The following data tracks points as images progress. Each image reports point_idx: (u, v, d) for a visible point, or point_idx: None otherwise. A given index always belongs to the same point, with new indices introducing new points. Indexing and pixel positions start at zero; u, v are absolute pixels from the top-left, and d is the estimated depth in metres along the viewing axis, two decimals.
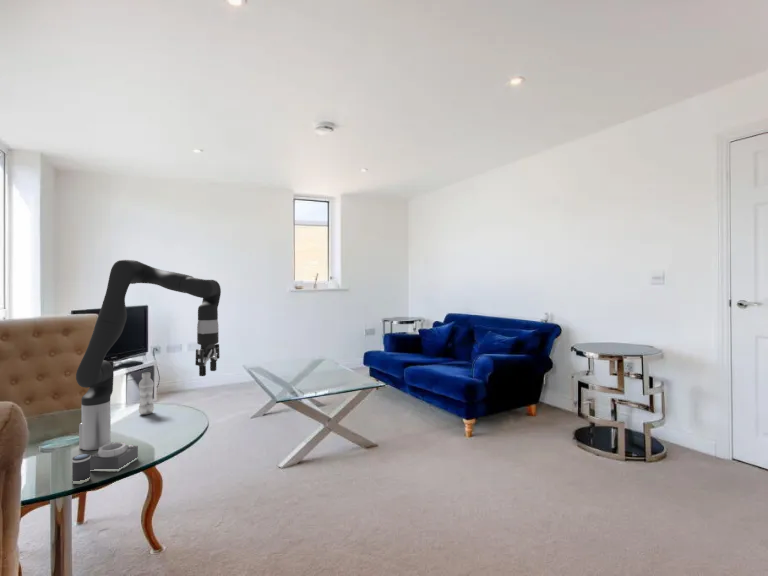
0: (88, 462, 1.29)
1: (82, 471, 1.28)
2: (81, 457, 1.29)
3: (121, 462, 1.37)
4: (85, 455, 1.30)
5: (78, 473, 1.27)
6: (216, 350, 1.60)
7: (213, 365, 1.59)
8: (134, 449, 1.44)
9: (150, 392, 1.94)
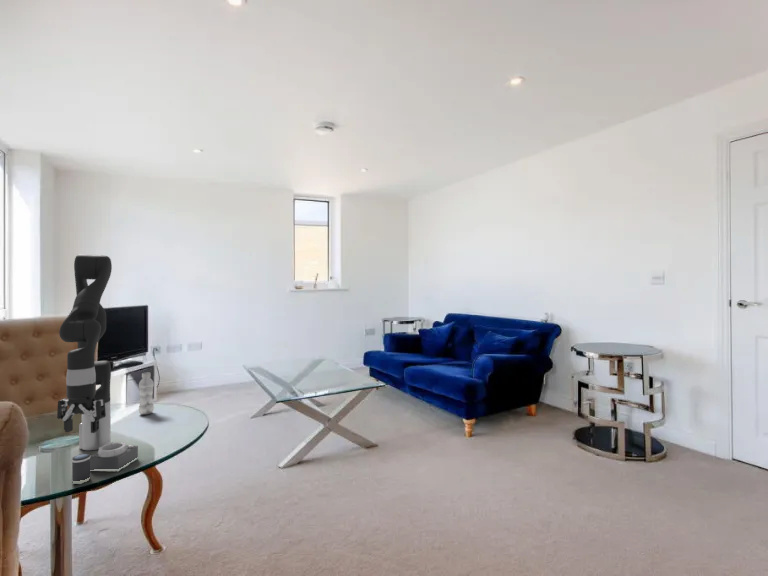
0: (88, 462, 1.29)
1: (82, 471, 1.28)
2: (81, 457, 1.29)
3: (121, 462, 1.37)
4: (85, 455, 1.30)
5: (78, 473, 1.27)
6: (65, 406, 1.30)
7: (70, 424, 1.30)
8: (134, 449, 1.44)
9: (150, 392, 1.94)
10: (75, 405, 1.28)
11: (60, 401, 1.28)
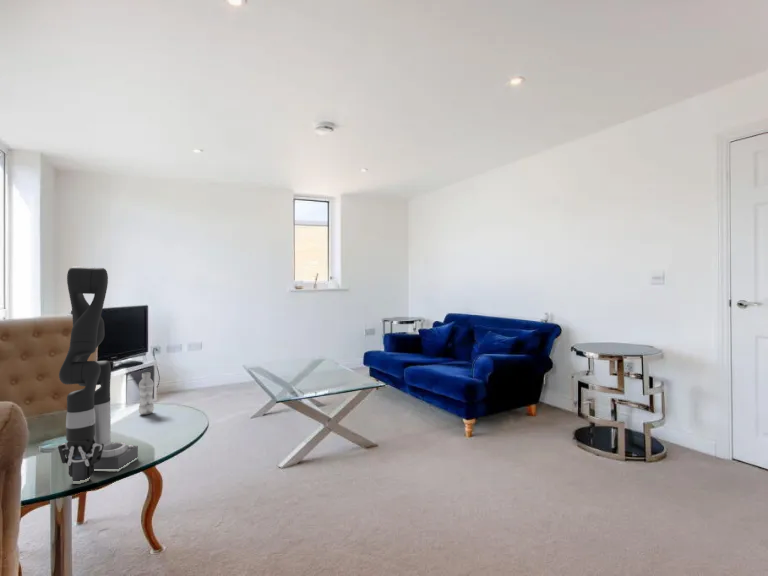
0: None
1: (82, 471, 1.28)
2: (81, 457, 1.29)
3: (121, 462, 1.37)
4: None
5: (78, 473, 1.27)
6: (67, 450, 1.30)
7: None
8: (134, 449, 1.44)
9: (150, 392, 1.94)
10: (74, 446, 1.28)
11: (60, 446, 1.28)
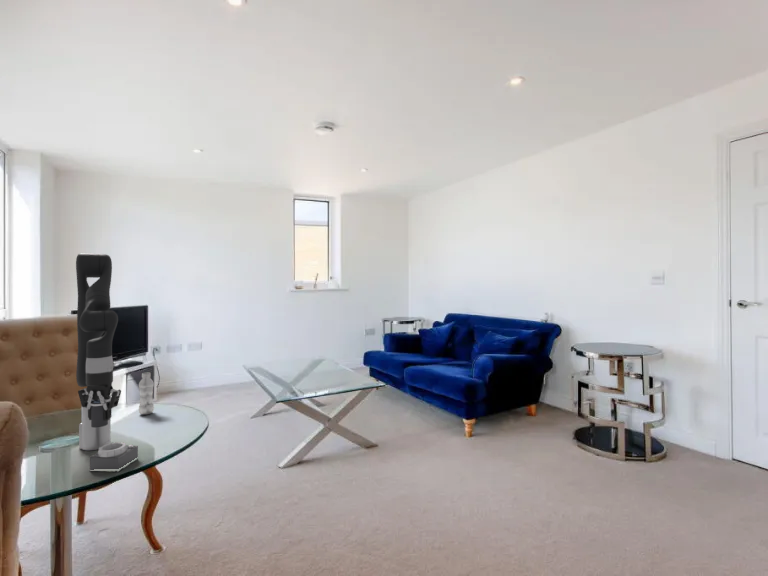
0: None
1: (100, 415, 1.34)
2: (99, 401, 1.35)
3: (121, 462, 1.37)
4: None
5: (97, 416, 1.34)
6: (87, 395, 1.37)
7: None
8: (134, 449, 1.44)
9: (150, 392, 1.94)
10: (93, 391, 1.34)
11: (80, 390, 1.35)
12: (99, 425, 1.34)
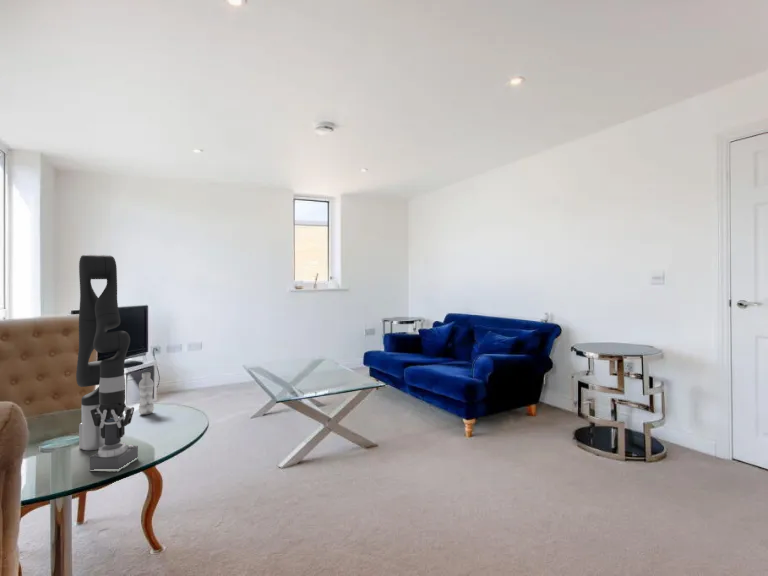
0: None
1: (114, 432, 1.38)
2: (113, 420, 1.39)
3: (121, 462, 1.37)
4: None
5: (111, 434, 1.38)
6: (99, 414, 1.40)
7: None
8: (134, 449, 1.44)
9: (150, 392, 1.94)
10: (107, 410, 1.38)
11: (92, 410, 1.38)
12: (113, 443, 1.38)
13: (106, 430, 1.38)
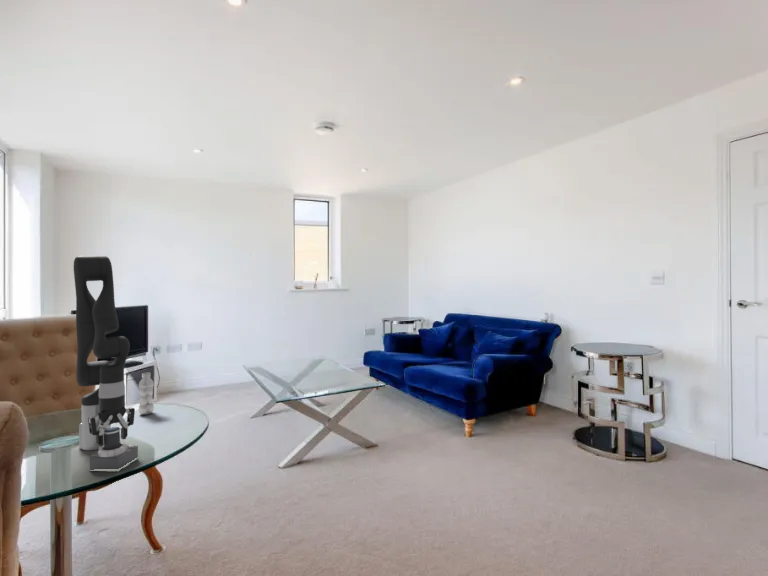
0: None
1: (119, 440, 1.40)
2: (115, 428, 1.40)
3: (121, 462, 1.37)
4: (113, 427, 1.41)
5: (117, 442, 1.39)
6: None
7: None
8: (134, 449, 1.44)
9: (150, 392, 1.94)
10: None
11: (93, 418, 1.34)
12: None
13: (112, 439, 1.38)
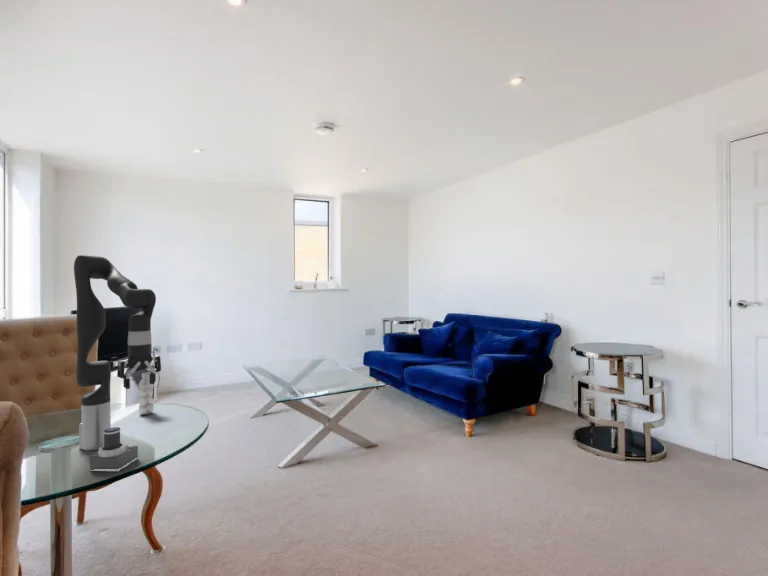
0: None
1: (119, 440, 1.40)
2: (115, 429, 1.40)
3: (121, 462, 1.37)
4: (113, 428, 1.41)
5: (117, 442, 1.39)
6: None
7: None
8: (134, 449, 1.44)
9: (150, 392, 1.94)
10: None
11: (123, 362, 1.44)
12: None
13: (112, 440, 1.38)
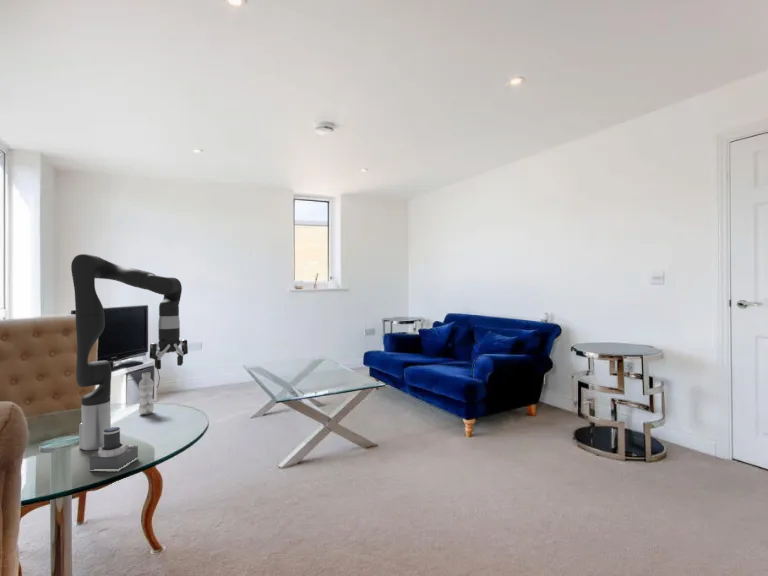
0: None
1: (119, 440, 1.40)
2: (115, 428, 1.40)
3: (121, 462, 1.37)
4: (113, 427, 1.41)
5: (117, 442, 1.39)
6: None
7: None
8: (134, 449, 1.44)
9: (150, 392, 1.94)
10: None
11: (155, 344, 1.56)
12: None
13: (112, 439, 1.38)
